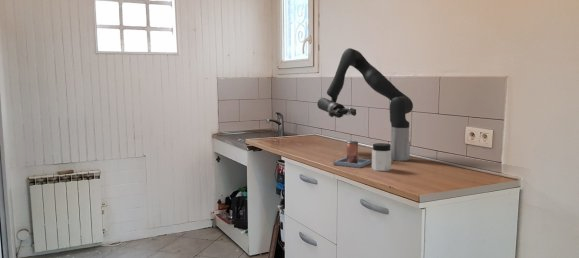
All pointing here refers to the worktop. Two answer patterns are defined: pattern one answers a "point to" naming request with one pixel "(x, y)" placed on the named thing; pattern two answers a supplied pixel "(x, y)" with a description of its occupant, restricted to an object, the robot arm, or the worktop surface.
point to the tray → (360, 163)
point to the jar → (381, 157)
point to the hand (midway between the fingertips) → (347, 114)
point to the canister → (352, 152)
